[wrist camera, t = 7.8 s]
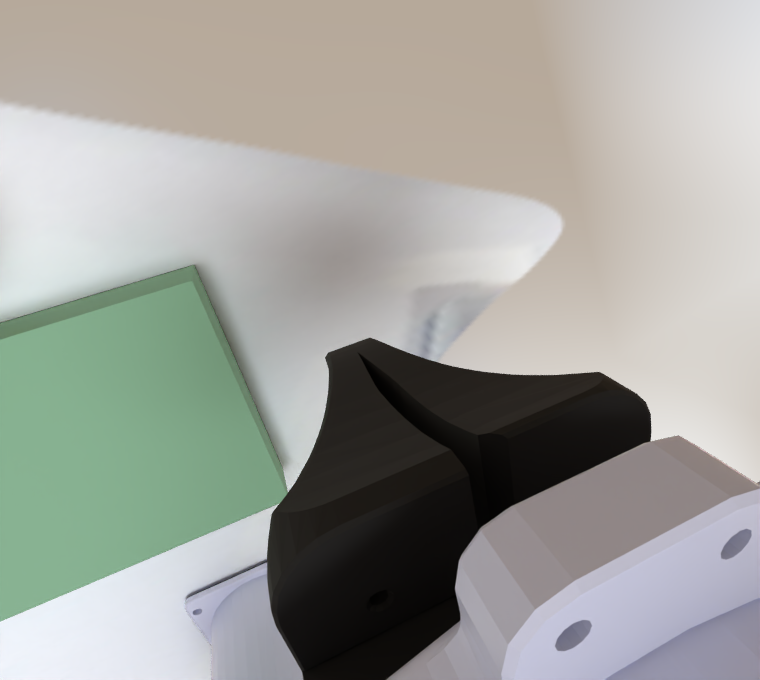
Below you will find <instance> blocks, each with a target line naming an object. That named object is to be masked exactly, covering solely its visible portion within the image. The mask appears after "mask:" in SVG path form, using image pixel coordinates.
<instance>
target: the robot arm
mask: <svg viewBox="0 0 760 680" xmlns="http://www.w3.org/2000/svg"><path fill="white" fill-rule="evenodd" d="M325 359H326V362H327V365H328V368H329V389H328V397H327V404H326V410H325V414H324V418H323V422H322V426H321V429H320V432H319V435H318V438H317V440H316V443H315V445H314V448H313V450H312V452H311V455H310V457H309V459H308V461H307V463H306V464H305V466H304V468H303V470H302V472H301V474H300V475H299V477H298V479H297V481H296V482H295V484H294V485H293V487H292V488H291V489H290V491H289V492H288V493H287V495H286V496H285V497H284V499H283V500H282V501H281V503H280V504H279V505H278V506H277V508H276V509H275V510H274V511H273V513H272V516H271V523H270V530H269V539H268V551H267V562H266V563H264V564H262V565H260V566H257V567H255V568H253V569H251V570H249V571H246V572H244V573H242V574H240V575H237V576H235V577H233V578H231V579H228V580H226V581H224V582H222V583H220V584H217V585H215V586H213V587H211V588H208V589H206V590H204V591H202V592H199V593H197V594H195V595H193V596H191V597H189V598H188V599H187V600H186V601H185V610H186V612H187V613H188V615H189V616H190V617H191V619H192V620H193V622H194V623H195V624H196V626H197V627H198V628H199V630H200V631H201V633H202V634H203V635H204V637H205V638H206V639H207V641H208V642H209V644H210V645H211V680H760V482H758V483H755V482H754V481H752V480H751V479H749V478H747V477H746V476H744V475H743V474H741V473H739V472H738V471H736V470H735V469H733V468H731V467H730V466H728V465H727V464H725V463H724V462H722V461H720V460H719V459H717V458H716V457H714V456H712V455H711V454H709V453H708V452H706V451H704V450H703V449H701V448H700V447H698V446H696V445H695V444H693V443H691V442H689V441H688V440H686V439H684V438H682V437H680V436H673V437H668V438H664V439H660V440H655V441H652V442H650V440H651V414H650V412H649V409H648V407H647V404H646V402H645V401H644V400H643V399H642V398H640V397H639V396H638V395H637V394H635V393H634V392H633V391H631V390H629V389H628V388H626V387H624V386H623V385H621V384H619V383H617V382H616V381H614V380H612V379H611V378H609V377H608V376H606V375H604V374H602V373H600V372H594V373H580V374H566V375H510V374H499V373H488V372H481V371H474V370H469V369H463V368H458V367H452V366H449V365H444V364H441V363H438V362H434V361H431V360H427V359H424V358H421V357H418V356H415V355H413V354H410V353H407V352H404V351H402V350H399V349H397V348H394V347H392V346H390V345H387V344H385V343H382V342H380V341H378V340H375V339H372V338H368V339H365V340H362V341H359V342H357V343H354V344H351V345H348V346H345V347H343V348H340V349H337V350H334V351H332V352H329V353H328V354H327V356H326V357H325Z"/></svg>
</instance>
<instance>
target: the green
mask: <svg viewBox="0 0 760 680" xmlns="http://www.w3.org/2000/svg"><path fill="white" fill-rule="evenodd" d="M287 493H288V491H287V487H286V482H285V477H284V473H283V468H282V466H281V463H280V461H279V459H278V457H277V454H276V452H275V450H274V447H273V445H272V443H271V440H270V438H269V436H268V434H267V431H266V429H265V427H264V424H263V422H262V420H261V417H260V415H259V413H258V410H257V408H256V406H255V404H254V401H253V399H252V397H251V394H250V392H249V390H248V387H247V385H246V383H245V381H244V378H243V376H242V374H241V371H240V369H239V367H238V364H237V362H236V360H235V358H234V355H233V353H232V351H231V348H230V346H229V344H228V341H227V339H226V337H225V335H224V332H223V330H222V328H221V325H220V323H219V321H218V318H217V316H216V314H215V311H214V309H213V307H212V305H211V302H210V300H209V298H208V295H207V293H206V291H205V288H204V286H203V284H202V282H201V279H200V277H199V275H198V272H197V270H196V268H195V265H192V266H188V267H185V268H182V269H178V270H175V271H172V272H168V273H165V274H162V275H159V276H155V277H152V278H149V279H145V280H142V281H139V282H135V283H132V284H129V285H125V286H122V287H119V288H115V289H112V290H109V291H105V292H102V293H99V294H95V295H92V296H89V297H85V298H82V299H79V300H75V301H72V302H69V303H65V304H62V305H59V306H55V307H52V308H49V309H45V310H42V311H39V312H35V313H32V314H29V315H26V316H22V317H19V318H16V319H12V320H9V321H6V322H2V323H0V621H3V620H5V619H7V618H10V617H12V616H14V615H17V614H19V613H22V612H24V611H26V610H29V609H31V608H33V607H36V606H38V605H40V604H43V603H45V602H48V601H50V600H52V599H55V598H57V597H59V596H62V595H64V594H66V593H69V592H71V591H73V590H76V589H78V588H81V587H83V586H85V585H88V584H90V583H92V582H95V581H97V580H99V579H102V578H104V577H107V576H109V575H111V574H114V573H116V572H118V571H121V570H123V569H125V568H128V567H130V566H133V565H135V564H137V563H140V562H142V561H144V560H147V559H149V558H151V557H154V556H156V555H159V554H161V553H163V552H166V551H168V550H170V549H173V548H175V547H177V546H180V545H182V544H184V543H187V542H189V541H192V540H194V539H196V538H199V537H201V536H203V535H206V534H208V533H210V532H213V531H215V530H218V529H220V528H222V527H225V526H227V525H229V524H232V523H234V522H236V521H239V520H241V519H244V518H246V517H248V516H251V515H253V514H255V513H258V512H260V511H262V510H265V509H267V508H270V507H272V506H274V505H277V504H279V503H281V501H282V500H283V499H284V497H285V496H286V495H287Z"/></svg>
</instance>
